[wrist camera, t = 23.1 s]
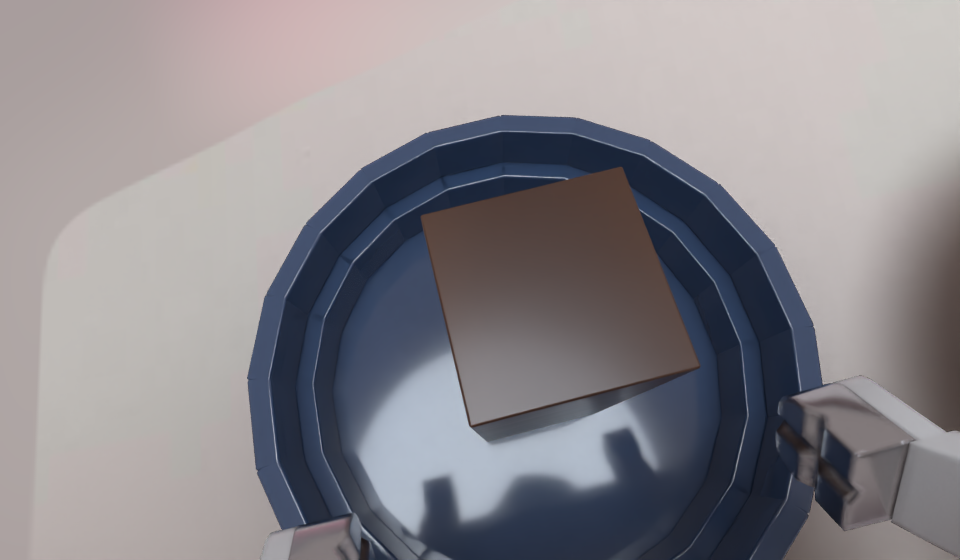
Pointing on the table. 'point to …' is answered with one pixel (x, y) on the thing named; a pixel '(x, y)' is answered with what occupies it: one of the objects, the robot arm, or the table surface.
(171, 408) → the table surface
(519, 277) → the block
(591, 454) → the bowl
